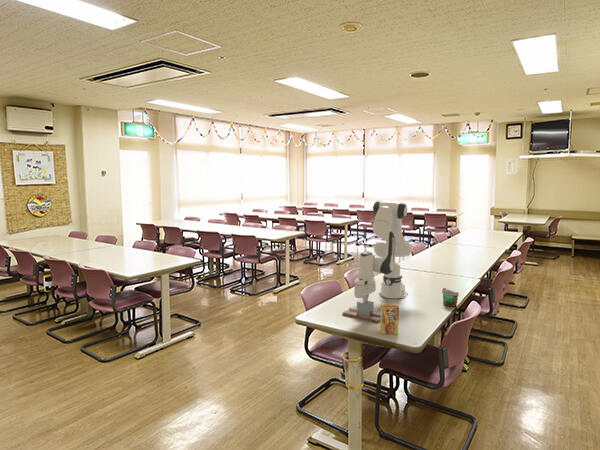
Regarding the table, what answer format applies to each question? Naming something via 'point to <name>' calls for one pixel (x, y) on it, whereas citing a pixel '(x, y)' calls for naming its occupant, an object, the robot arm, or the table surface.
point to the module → (365, 307)
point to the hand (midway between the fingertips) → (365, 301)
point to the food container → (450, 298)
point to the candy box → (389, 319)
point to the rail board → (372, 318)
